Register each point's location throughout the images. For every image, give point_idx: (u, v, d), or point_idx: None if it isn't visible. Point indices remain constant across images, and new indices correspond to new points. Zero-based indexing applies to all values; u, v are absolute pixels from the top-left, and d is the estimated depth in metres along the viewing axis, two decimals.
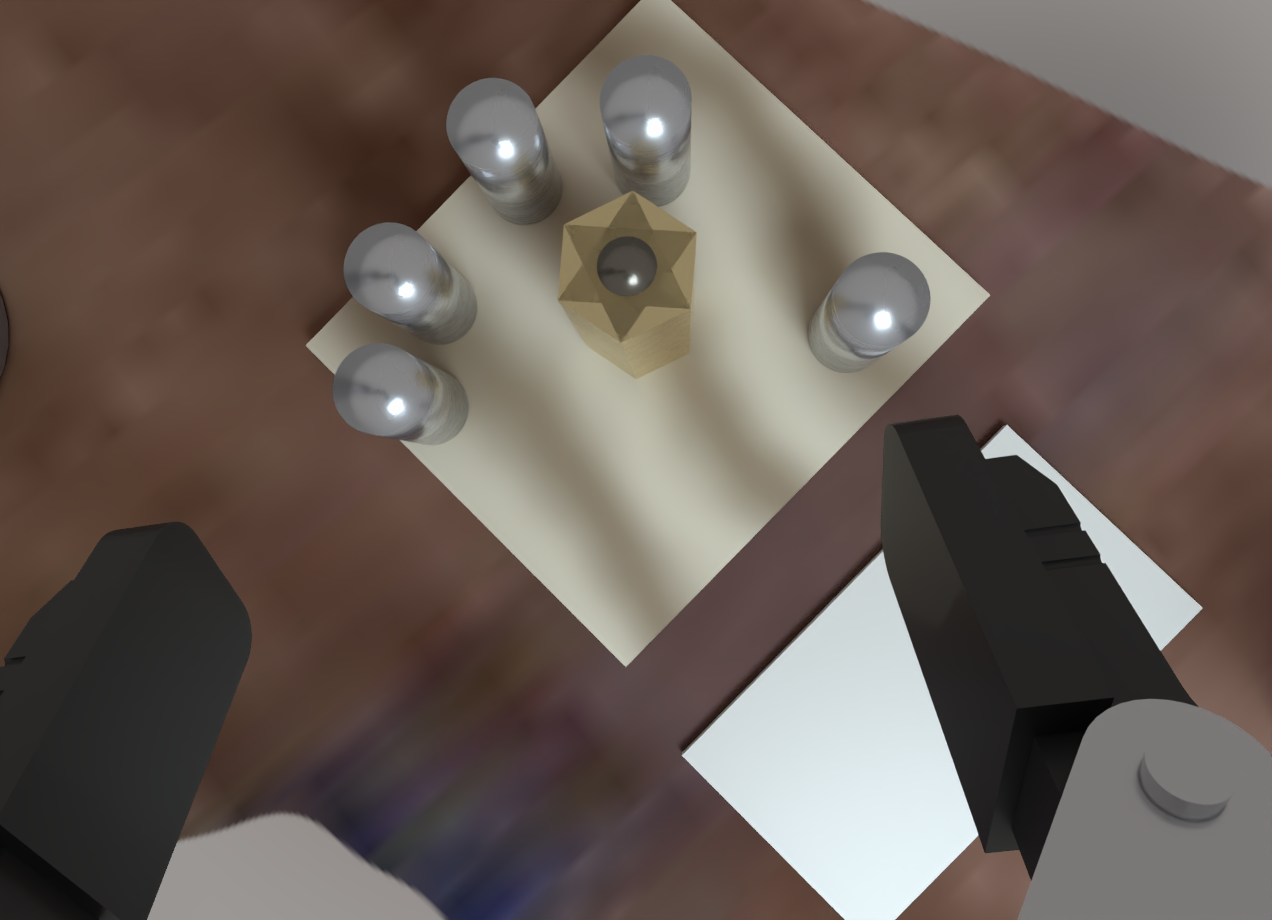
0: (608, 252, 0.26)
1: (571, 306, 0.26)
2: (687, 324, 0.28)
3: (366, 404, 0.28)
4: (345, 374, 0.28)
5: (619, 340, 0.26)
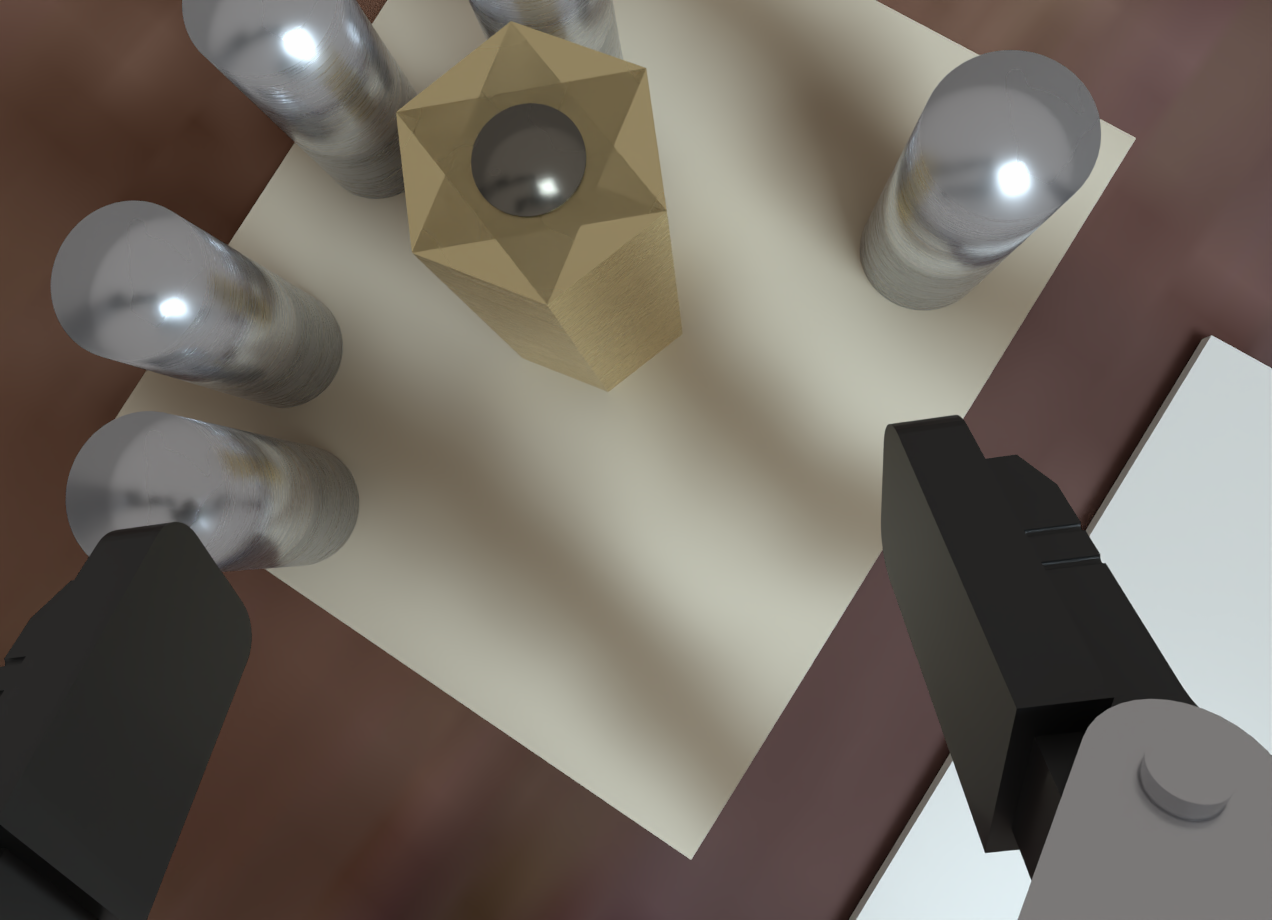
0: (489, 142, 0.13)
1: (440, 258, 0.13)
2: (668, 259, 0.15)
3: (129, 526, 0.15)
4: (84, 480, 0.16)
5: (543, 301, 0.13)
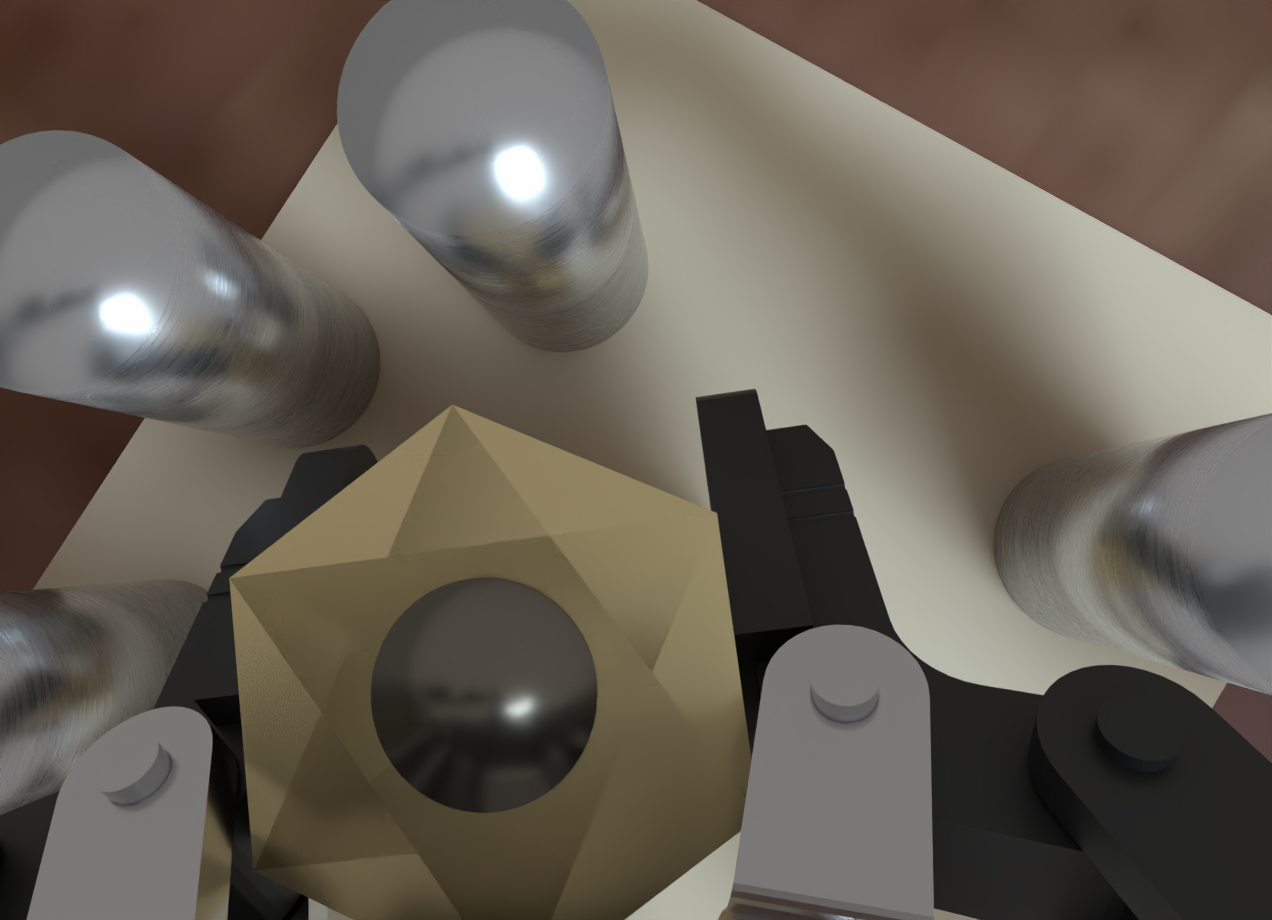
0: (409, 653, 0.07)
1: (308, 885, 0.07)
2: None
3: None
4: None
5: None
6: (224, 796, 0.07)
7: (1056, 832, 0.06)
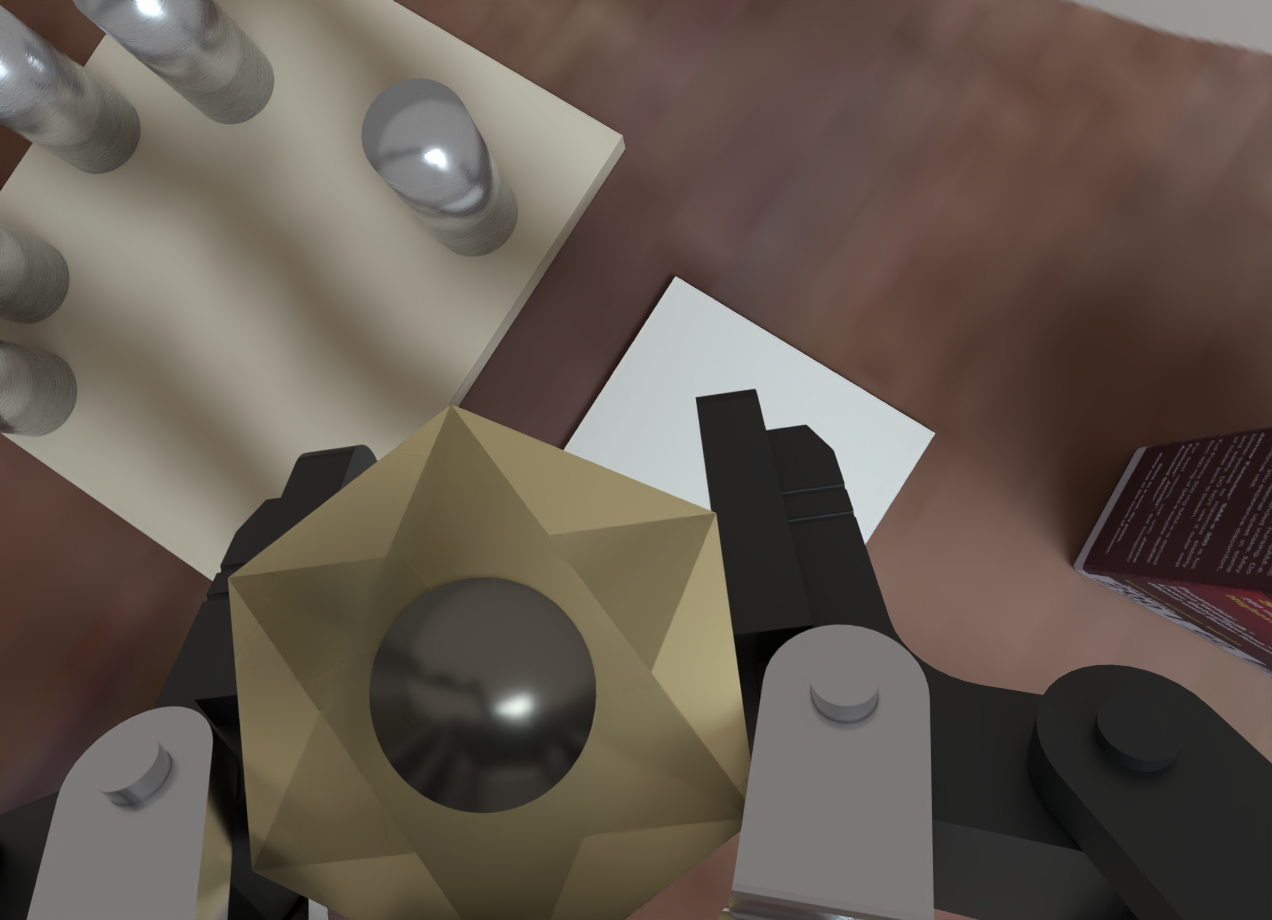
0: (407, 654, 0.07)
1: (306, 885, 0.07)
2: None
3: None
4: None
5: None
6: (225, 796, 0.07)
7: (1056, 832, 0.06)
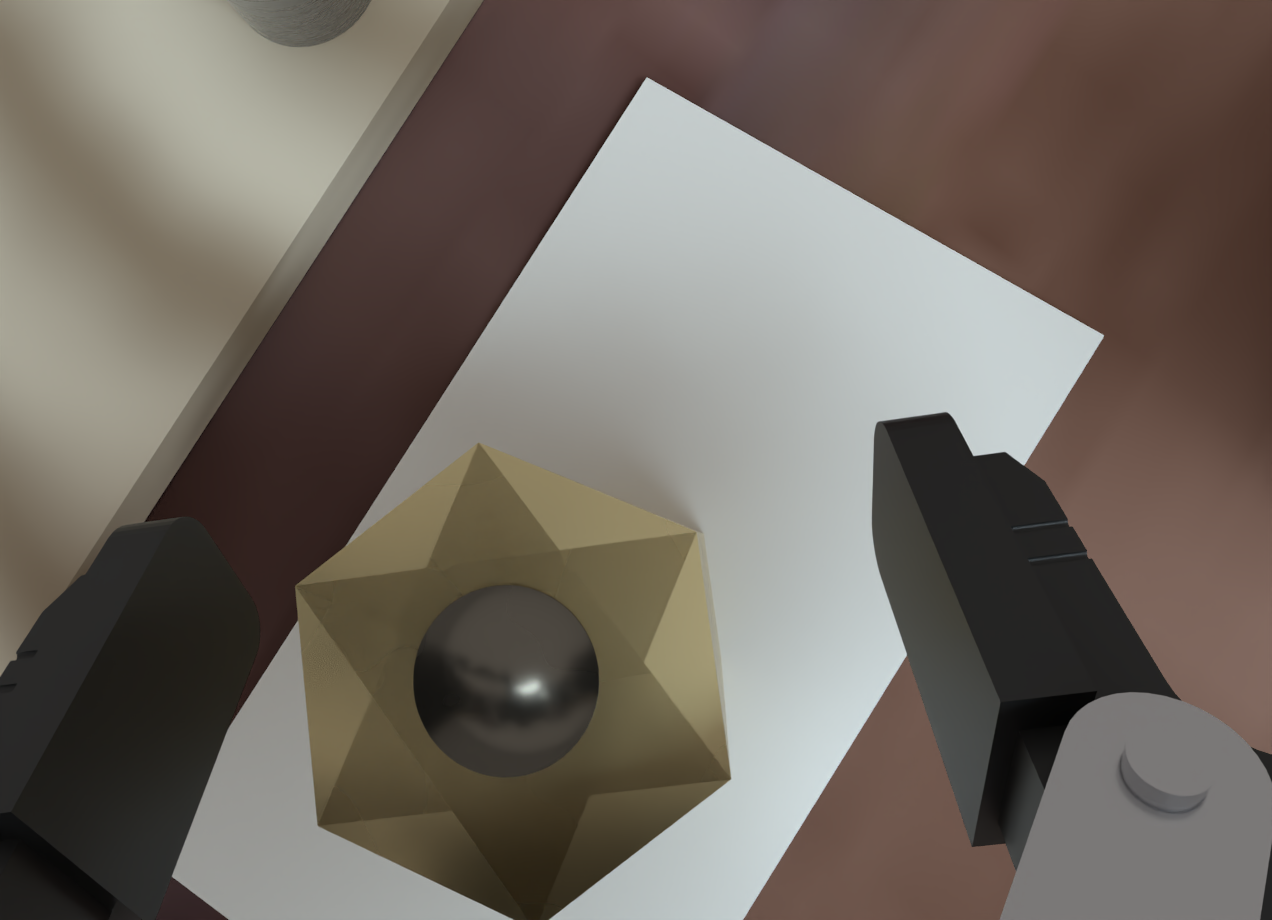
0: (443, 648, 0.08)
1: (362, 837, 0.08)
2: None
3: None
4: None
5: None
6: None
7: None
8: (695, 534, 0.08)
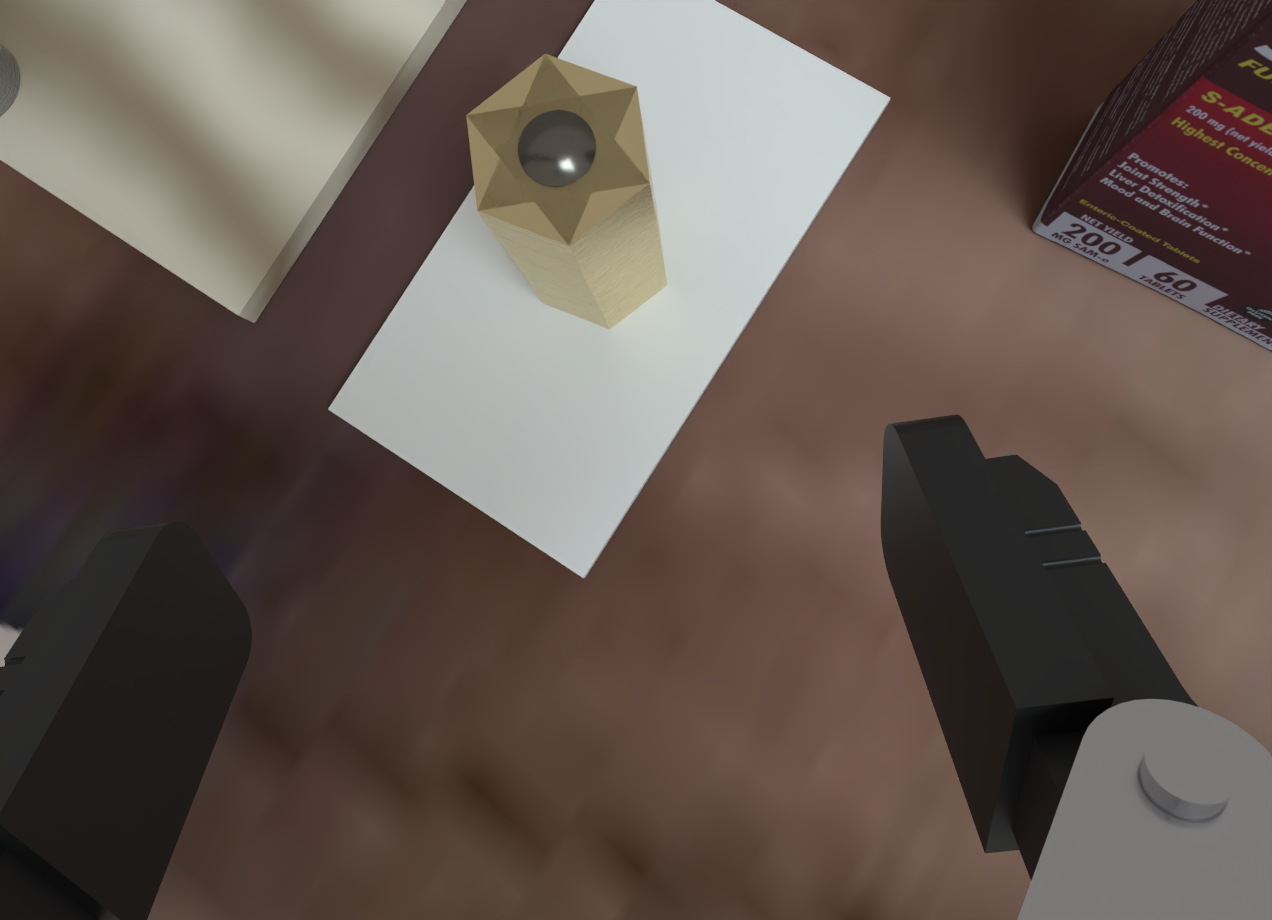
0: (530, 136, 0.20)
1: (496, 214, 0.20)
2: (652, 219, 0.22)
3: None
4: None
5: (566, 243, 0.20)
6: None
7: None
8: (636, 87, 0.20)
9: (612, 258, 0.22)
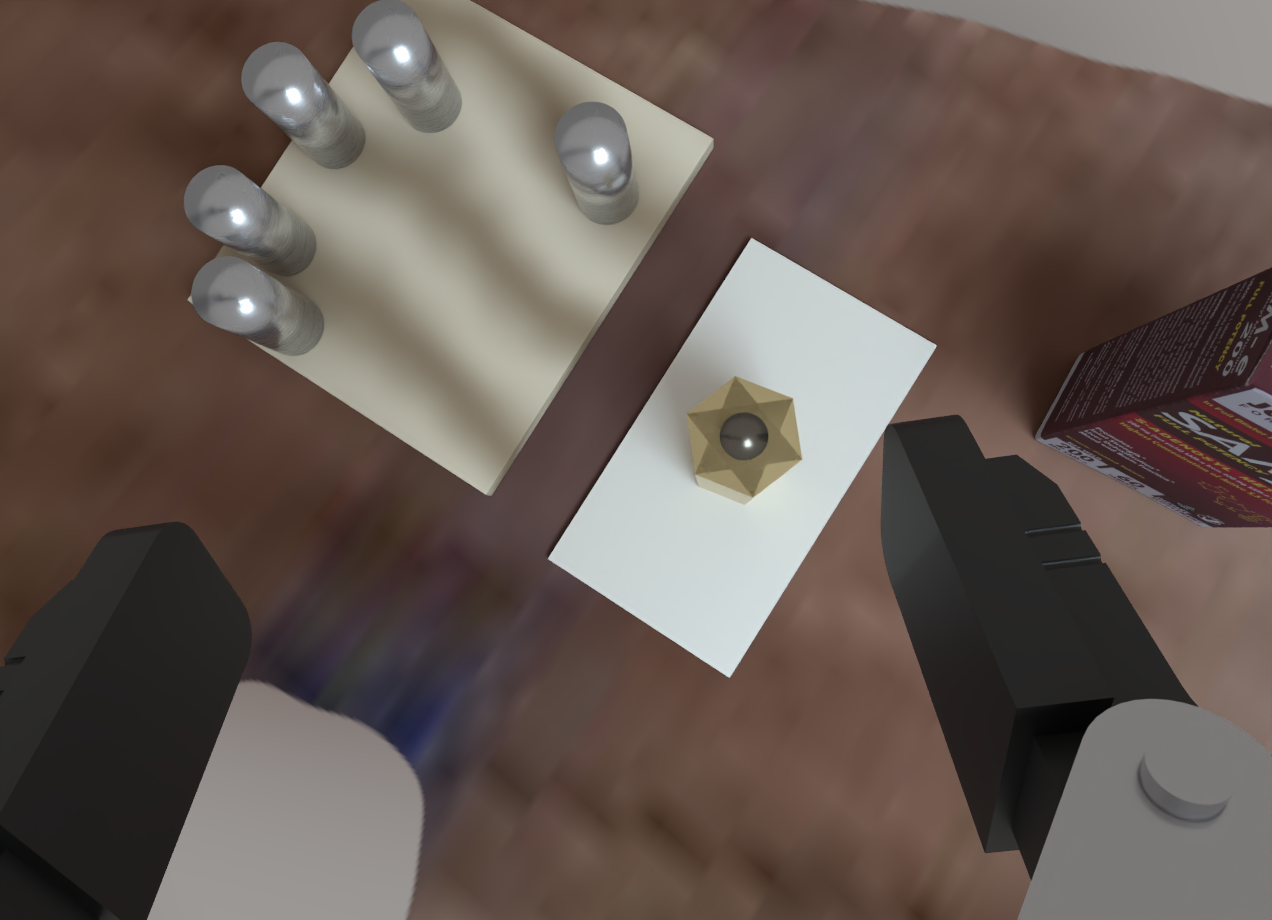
0: (727, 428, 0.32)
1: (707, 476, 0.32)
2: None
3: (219, 305, 0.36)
4: (199, 286, 0.36)
5: (751, 495, 0.32)
6: None
7: None
8: (792, 398, 0.32)
9: None
